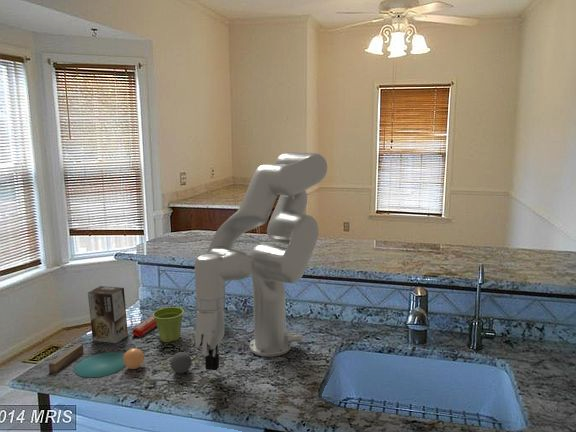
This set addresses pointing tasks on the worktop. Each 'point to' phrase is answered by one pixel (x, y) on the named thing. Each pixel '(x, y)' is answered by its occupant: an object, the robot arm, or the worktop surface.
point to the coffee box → (108, 314)
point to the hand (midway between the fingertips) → (212, 368)
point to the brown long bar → (65, 358)
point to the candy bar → (144, 327)
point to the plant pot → (169, 323)
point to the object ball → (133, 358)
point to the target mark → (100, 365)
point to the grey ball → (180, 362)
